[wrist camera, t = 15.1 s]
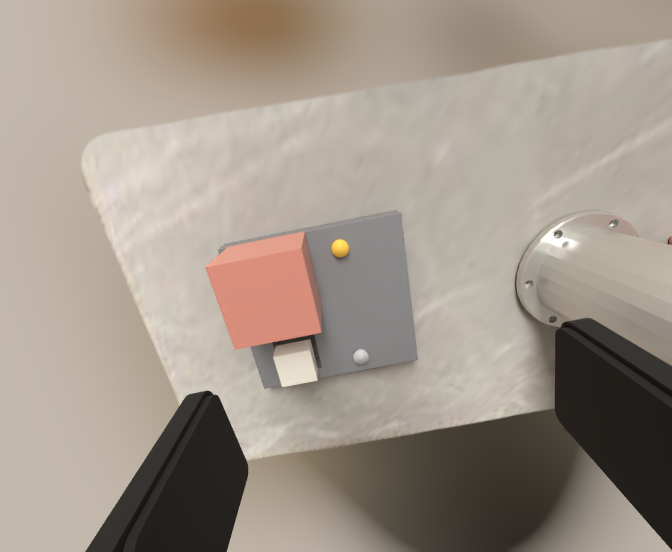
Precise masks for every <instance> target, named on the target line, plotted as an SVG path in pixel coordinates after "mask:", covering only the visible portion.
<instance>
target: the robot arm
mask: <svg viewBox="0 0 672 552" xmlns="http://www.w3.org/2000/svg"><path fill="white" fill-rule="evenodd" d="M516 287H517V294H518V297H519V299H520V302H521V304H522V305H523V307H524V308H525V310H526V311H527V312H528V313H529V314H531V315H532V316H533V317H534V318H536V319H537V320H539V321H540V322H542V323H544V324H547V325H550V326H555V327H561V328H560V329H558V330H557V331H556V336H555V411H556V415H557V417H558V419H559V421H560V423H561V424H562V425H563V426H564V427H565V429H566V430H567V431H568V432H569V433H570V434H571V435H572V437H573V438H574V439H575V440H576V441H577V442H578V443H579V445H580V446H581V447H582V448H583V449H584V450H585V451H586V453H587V454H588V455H589V456H590V457H591V458H592V459H593V460H594V462H595V463H596V464H597V465H598V466H599V467H600V469H602V471H603V472H604V473H605V474H606V475H607V477H608V478H609V479H610V480H611V481H612V482H613V483H614V485H615V486H616V487H617V488H618V489H619V490H620V491H621V492H622V494H623V495H624V496H625V497H626V498H627V499H628V500H629V502H630V503H631V504H632V505H633V506H634V507H635V508H636V510H637V511H638V512H639V513H640V514H641V515H642V516H643V518H644V519H645V520H646V521H647V522H648V523H649V525H650V526H651V527H652V528H653V529H654V530H655V531H656V533H657V534H658V535H659V536H660V537H661V538H662V539H663V540H664V541H665V543H666V544H667V545H668V546H669V547H670V548H671V550H672V245H669V244H665V243H661V242H656V241H652V240H648V239H643V238H640V237H639V235H638V233H637V231H636V229H635V228H634V227H633V226H632V225H631V224H630V223H629V222H628V221H626V220H625V219H623V218H622V217H620V216H617V215H614V214H611V213H605V212H599V211H585V212H580V213H575V214H572V215H569V216H567V217H564V218H562V219H560V220H558V221H557V222H555V223H553V224H551V225H550V226H549V227H547V228H546V229H545V230H544V231H542V232H541V233H540V234H539V235H538V236H537V237H536V239H535V240H534V241H533V242H532V243H531V244H530V246H529V247H528V249H527V250H526V252H525V254H524V256H523V258H522V260H521V262H520V265H519V269H518V273H517V281H516ZM247 477H248V464H247V461H246V459H245V456H244V454H243V452H242V449H241V447H240V445H239V442H238V440H237V438H236V435H235V433H234V431H233V428H232V426H231V424H230V421H229V419H228V417H227V415H226V412H225V410H224V408H223V405H222V403H221V401H220V398H219V397H218V396H217V395H213V393H212V392H210V391H204V392H198V393H193V394H189V395H187V396H186V397H185V399H184V400H183V402H182V403H181V405H180V406H179V408H178V410H177V411H176V413H175V414H174V416H173V417H172V419H171V420H170V422H169V423H168V425H167V426H166V428H165V430H164V432H163V433H162V434H161V436H160V438H159V439H158V440H157V442H156V443H155V445H154V446H153V448H152V450H151V451H150V453H149V454H148V456H147V457H146V459H145V461H144V462H143V464H142V465H141V467H140V468H139V470H138V471H137V473H136V474H135V476H134V477H133V479H132V481H131V482H130V484H129V485H128V487H127V488H126V490H125V491H124V493H123V494H122V496H121V497H120V499H119V501H118V502H117V504H116V505H115V507H114V508H113V510H112V512H111V513H110V514H109V516H108V518H107V519H106V521H105V522H104V524H103V525H102V527H101V528H100V530H99V531H98V533H97V535H96V536H95V538H94V539H93V541H92V542H91V544H90V545H89V547H88V549H87V550H86V552H227V548H228V545H229V541H230V538H231V534H232V531H233V527H234V523H235V520H236V516H237V513H238V509H239V506H240V502H241V499H242V495H243V492H244V488H245V484H246V481H247Z"/></svg>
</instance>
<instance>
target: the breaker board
mask: <svg viewBox="0 0 672 552" xmlns="http://www.w3.org/2000/svg"><path fill="white" fill-rule="evenodd" d="M303 231H305V234H306V238H307V243H308V247H309V251H310V256H311V260H312V264H313V269H314V273H315V277H316V282H317V286H318V290H319V295H320V299H321V329H322V333H318V334H314V336H315V341H316V345H317V349H318V353H319V357H318V358H315V359H316V363H317V367H318V379H319V378H324V377H329V376H334V375H340V374H345V373H350V372H355V371H361V370H366V369H371V368H376V367H382V366H387V365H392V364H397V363H403V362H408V361H413V360H418V357H417V348H416V340H415V331H414V322H413V314H412V305H411V297H410V288H409V280H408V271H407V262H406V254H405V245H404V237H403V228H402V219H401V213H399V212H398V211H396V210H395V211H390V212H385V213H380V214H375V215H370V216H365V217H360V218H355V219H350V220H345V221H340V222H335V223H330V224H325V225H320V226H315V227H310V228H304V229H299V230H294V231H289V232H284V233H279V234H274V235H269V236H264V237H259V238H254V239H249V240H244V241H239V242H234V243H229V244H224V245H223V246H222V247H221V248H220V249H218V251H219V254H220V253H222V252H223V251H224V250H225V249H226V248H227V247H229V246H234V245H239V244H244V243H249V242H254V241H259V240H264V239H269V238H274V237H279V236H284V235H289V234H294V233H298V232H303ZM277 345H278V342H272V343H266V344H261V345H256V346H251V350H252V353H253V356H254V359H255V362H256V365H257V368H258V371H259V374H260V377H261V380H262V383H263V386H264V389H266V388H272V387H277V386H282V385H281V382H280V378H279V375H278V372H277V369H276V365H275V362H274V359H273V355H274V351H275V347H276V346H277Z"/></svg>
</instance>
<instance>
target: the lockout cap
mask: <svg viewBox="0 0 672 552" xmlns="http://www.w3.org/2000/svg"><path fill="white" fill-rule="evenodd" d="M205 268H206V271H207V273H208V276H209V279H210V282H211V285H212V287H213V290H214V293H215V296H216V299H217V301H218V304H219V307H220V310H221V312H222V315H223V318H224V321H225V324H226V326H227V329H228V332H229V335H230V338H231V340H232V343H233V346H234V349H235V350H236V349H241V348H246V347H251V346H256V345H261V344H266V343H272V342H277V341H282V340H287V339H292V338H297V337H302V336H307V335H312V334H318V333H322V329H321V299H320V295H319V290H318V286H317V282H316V277H315V273H314V269H313V264H312V260H311V256H310V251H309V247H308V243H307V238H306V234H305V231H303V232H298V233H294V234H289V235H284V236H279V237H274V238H269V239H264V240H259V241H254V242H249V243H244V244H239V245H234V246H229V247H227V248H226V249H225V250H224V251H223V252H222V253H220V254H219V255H218V256H217V257H216V258H215V259H214V260H213V261H212V262H211V263H210V264H209V265H207V266H206V267H205Z"/></svg>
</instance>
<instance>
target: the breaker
mask: <svg viewBox="0 0 672 552" xmlns="http://www.w3.org/2000/svg"><path fill="white" fill-rule="evenodd" d="M273 359H274V362H275V365H276V369H277V372H278V375H279V378H280V382H281V385H282V387H286V386H292V385H297V384H302V383H307V382H313V381H318V367H317V363H316V359H315V355H314V351H313V347H312V343H311V340H310V339H308V340H303V341H298V342H293V343H288V344H282V345H277V346H276V347H275V351H274V355H273Z"/></svg>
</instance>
